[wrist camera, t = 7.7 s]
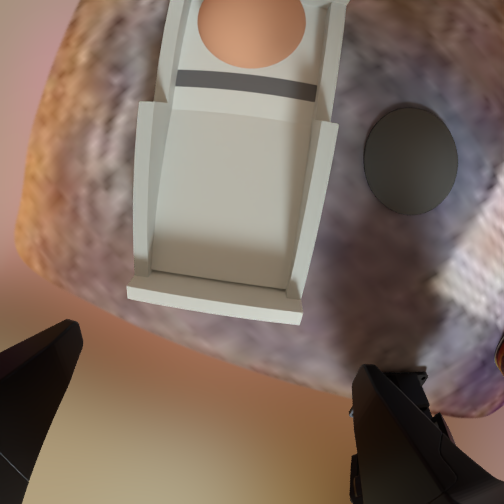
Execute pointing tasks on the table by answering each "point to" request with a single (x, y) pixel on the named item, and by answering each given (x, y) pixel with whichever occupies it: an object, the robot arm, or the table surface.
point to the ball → (251, 30)
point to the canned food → (500, 356)
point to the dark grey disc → (410, 161)
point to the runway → (234, 171)
